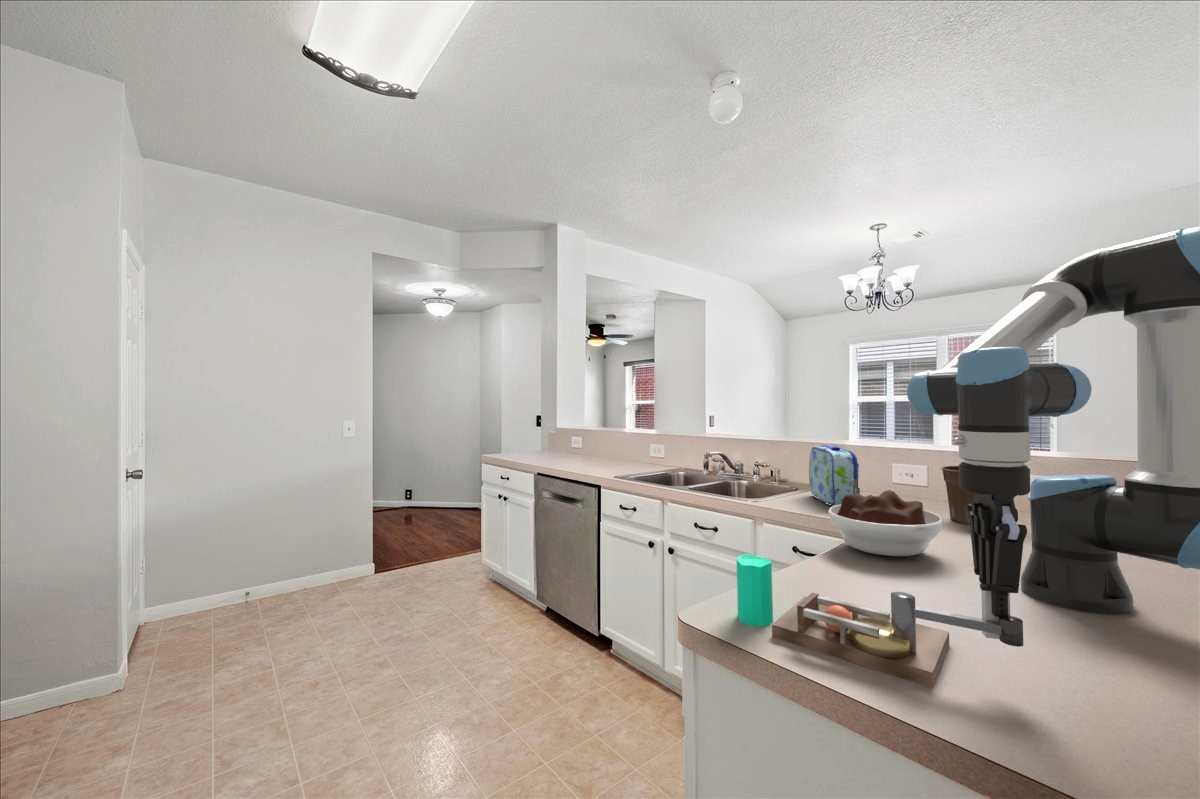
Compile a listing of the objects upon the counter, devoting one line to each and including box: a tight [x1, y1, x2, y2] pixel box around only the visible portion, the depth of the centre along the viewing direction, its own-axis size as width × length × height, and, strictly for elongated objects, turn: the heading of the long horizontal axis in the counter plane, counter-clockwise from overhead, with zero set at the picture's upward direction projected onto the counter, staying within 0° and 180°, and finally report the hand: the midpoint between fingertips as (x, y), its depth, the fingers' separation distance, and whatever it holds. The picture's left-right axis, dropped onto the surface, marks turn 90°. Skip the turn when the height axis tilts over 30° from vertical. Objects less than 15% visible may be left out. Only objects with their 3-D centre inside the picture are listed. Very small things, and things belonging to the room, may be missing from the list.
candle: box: [735, 550, 774, 627], centre depth 86 cm, size 6×6×12 cm
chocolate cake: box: [827, 489, 945, 557], centre depth 122 cm, size 25×25×15 cm
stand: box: [771, 591, 950, 689], centre depth 78 cm, size 22×15×6 cm
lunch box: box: [808, 444, 861, 506], centre depth 180 cm, size 26×11×21 cm, turn 174°
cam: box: [850, 591, 1024, 658], centre depth 68 cm, size 10×19×8 cm, turn 35°
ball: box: [825, 605, 852, 633], centre depth 77 cm, size 4×4×4 cm
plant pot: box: [940, 465, 975, 525], centre depth 148 cm, size 16×16×16 cm
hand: (996, 636), depth 66 cm, fingers closed
